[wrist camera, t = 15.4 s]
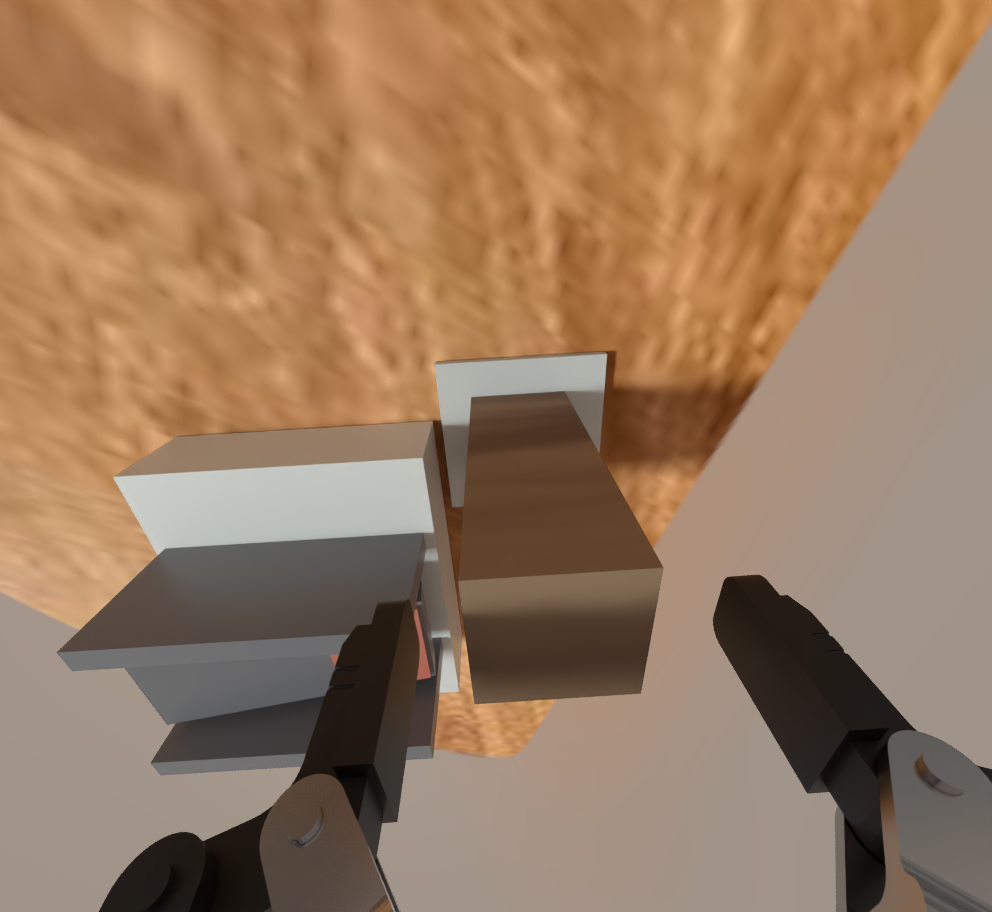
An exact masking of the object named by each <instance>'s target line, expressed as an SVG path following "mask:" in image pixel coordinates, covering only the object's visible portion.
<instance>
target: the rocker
mask: <svg viewBox="0 0 992 912" xmlns="http://www.w3.org/2000/svg"><path fill="white" fill-rule="evenodd" d="M414 619H415V623H416V628H417V632H418V636H419V644H420V659H419V668H418V675H417V680H420V679H426V678H431V676H436V671H435V651H434V646H433V640H432V635H431V630H430V624H429V619H428V614H427V609H426V603H425V598H424V593H423V587H422V582H421V581H420V586H419V591H418V597H417V602H416V608H415V613H414ZM338 656H339V654H338V655H322V656H306V657H290V658H274V659H258V660H242V661H226V662H209V663H193V664H177V665H161V666H145V667H129V668H125V669H126V671H127V672H128V673H129V675H130V676H131V677H132V678H133V680H134V681H135V682H136V684H137V685H138V687H139V688H140V689H141V691H142V692H143V693H144V695H145V696H146V697H147V698H148V700H149V701H150V703H151V704H152V705H153V707H154V708H155V709H156V710H157V712H158V713H159V714H160V716H161V717H162V718H163V720H164V721H165V723H166V724H167V725H169V724H174V723H180V722H185V721H191V720H196V719H202V718H207V717H212V716H218V715H223V714H229V713H234V712H240V711H245V710H251V709H256V708H261V707H267V706H272V705H278V704H283V703H289V702H294V701H299V700H305V699H310V698H316V697H321V696H325V695H326V692H327V690H328V689H329V683H330V680H331V677H332V674H333V671H335V665H336V662H337V659H338Z"/></svg>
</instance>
